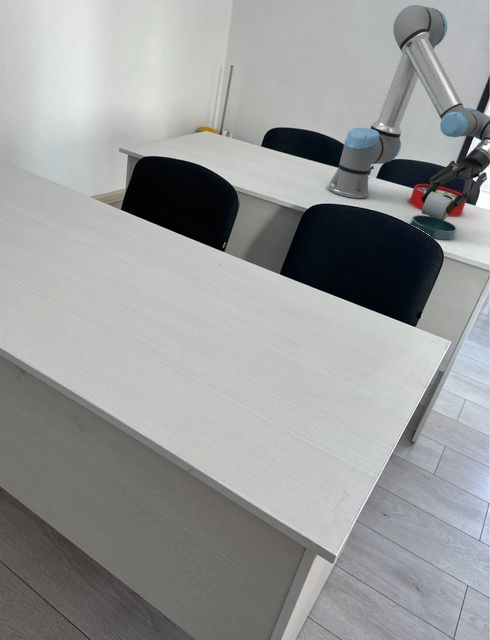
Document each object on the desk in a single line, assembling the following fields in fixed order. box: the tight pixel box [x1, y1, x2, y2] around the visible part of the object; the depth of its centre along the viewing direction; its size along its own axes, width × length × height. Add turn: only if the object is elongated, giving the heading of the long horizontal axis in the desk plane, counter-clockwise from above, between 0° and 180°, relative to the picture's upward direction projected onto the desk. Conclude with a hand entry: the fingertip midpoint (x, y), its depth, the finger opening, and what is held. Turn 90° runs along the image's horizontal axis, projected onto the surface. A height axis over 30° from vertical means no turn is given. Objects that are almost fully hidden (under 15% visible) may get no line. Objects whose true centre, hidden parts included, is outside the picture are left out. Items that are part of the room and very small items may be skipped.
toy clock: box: [409, 183, 467, 217], centre depth 226 cm, size 20×6×20 cm
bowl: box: [409, 214, 458, 241], centre depth 199 cm, size 15×15×3 cm
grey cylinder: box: [421, 192, 452, 221], centre depth 196 cm, size 11×8×8 cm
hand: (434, 205), depth 193 cm, fingers closed on grey cylinder, 9 cm apart
